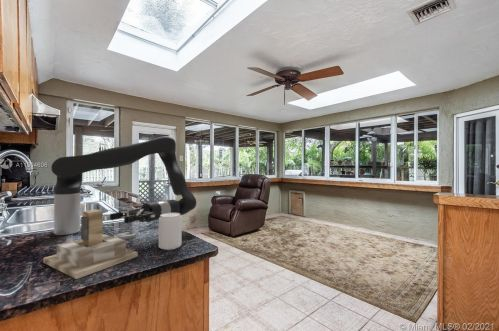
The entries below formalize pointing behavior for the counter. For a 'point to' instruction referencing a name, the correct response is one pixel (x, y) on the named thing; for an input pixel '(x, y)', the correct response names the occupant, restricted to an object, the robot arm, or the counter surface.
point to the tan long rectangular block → (92, 227)
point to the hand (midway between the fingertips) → (117, 218)
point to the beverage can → (170, 231)
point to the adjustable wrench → (126, 235)
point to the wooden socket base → (89, 256)
